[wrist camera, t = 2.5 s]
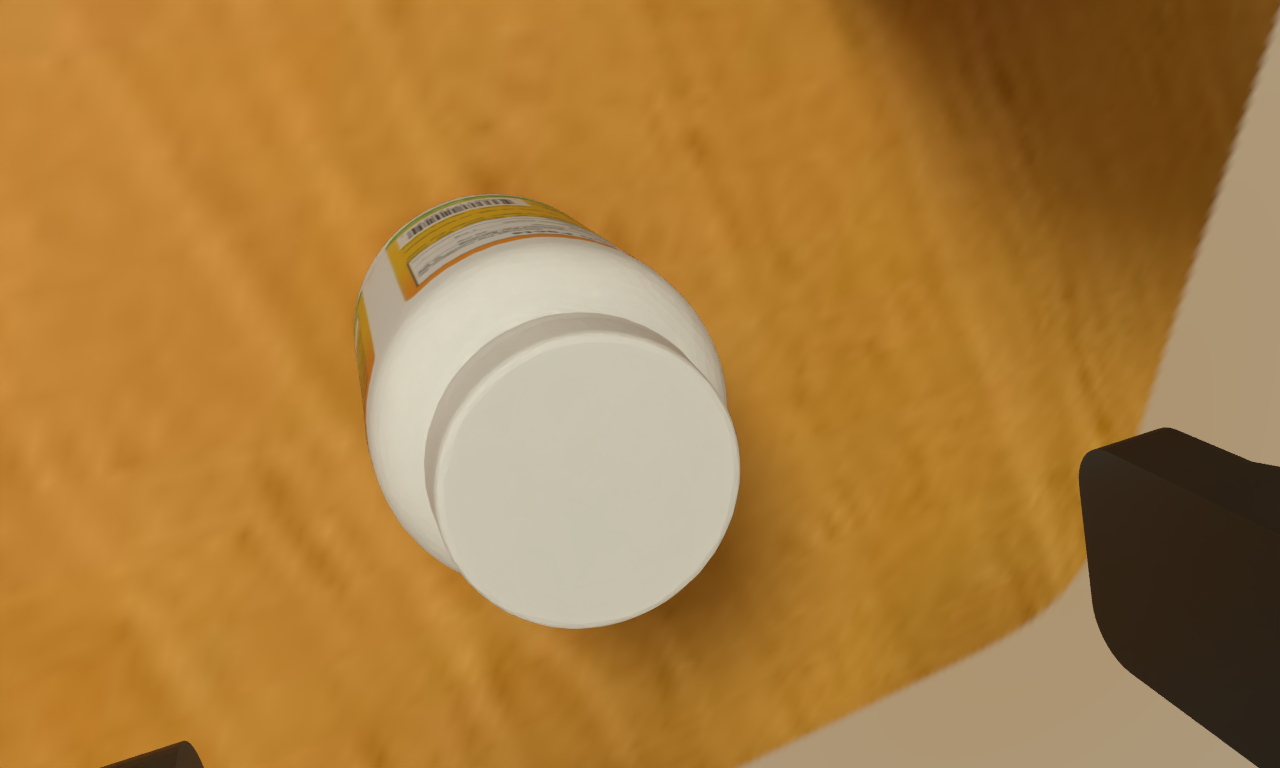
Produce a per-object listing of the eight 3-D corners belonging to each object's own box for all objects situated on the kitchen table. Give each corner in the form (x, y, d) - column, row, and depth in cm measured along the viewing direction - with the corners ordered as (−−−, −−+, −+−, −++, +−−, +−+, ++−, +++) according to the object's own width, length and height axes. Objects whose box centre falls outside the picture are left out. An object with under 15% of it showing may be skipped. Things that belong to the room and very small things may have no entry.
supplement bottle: (535, 497, 26) (657, 743, 17) (300, 377, 24) (291, 579, 15) (671, 277, 25) (871, 405, 16) (441, 137, 23) (522, 191, 14)
